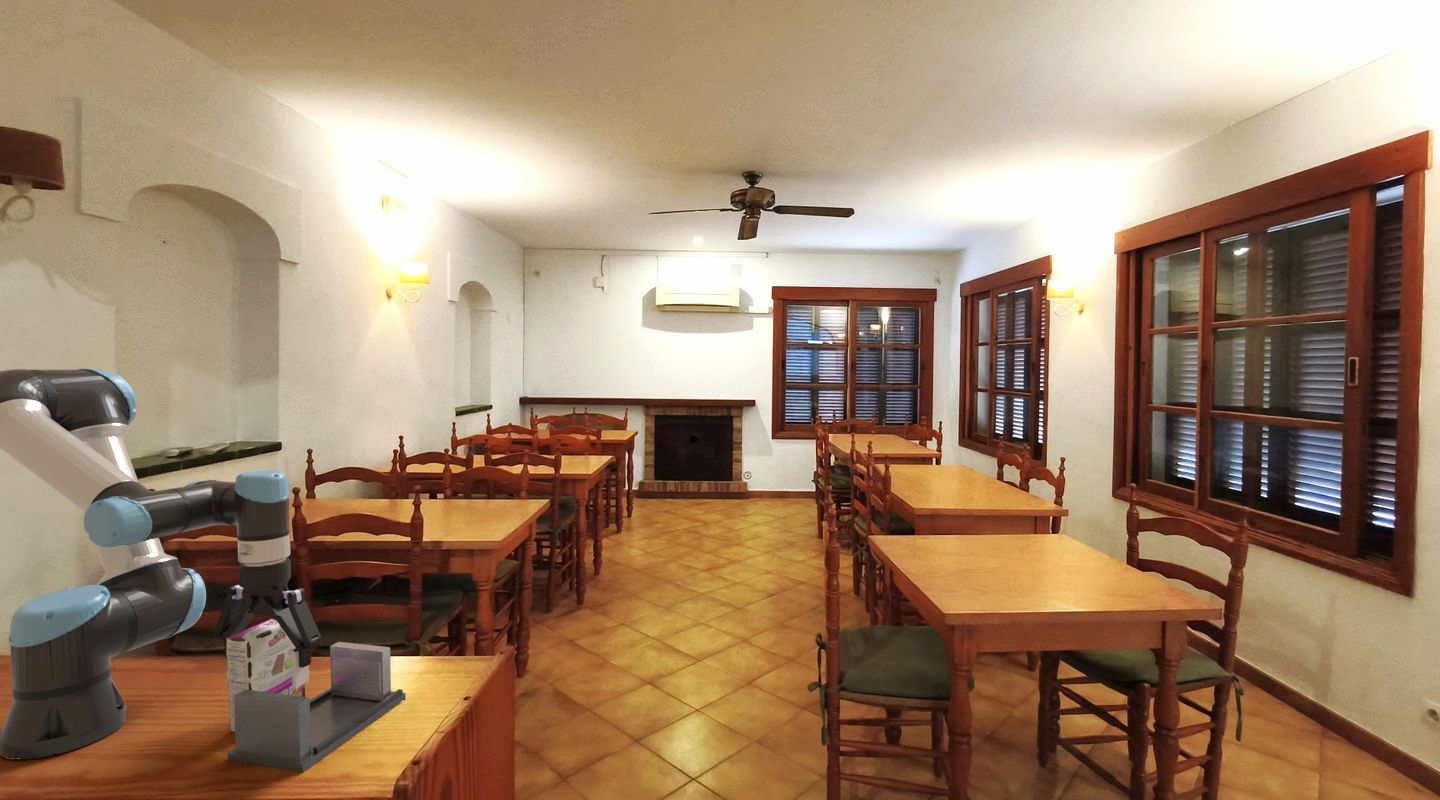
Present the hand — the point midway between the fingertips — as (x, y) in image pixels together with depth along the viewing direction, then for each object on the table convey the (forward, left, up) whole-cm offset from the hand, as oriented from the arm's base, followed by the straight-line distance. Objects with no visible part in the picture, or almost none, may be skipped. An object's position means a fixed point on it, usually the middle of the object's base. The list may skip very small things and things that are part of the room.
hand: (268, 680), depth 116 cm
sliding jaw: (+12, +11, -5) cm, 17 cm away
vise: (+12, 0, -7) cm, 14 cm away
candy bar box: (0, 0, -7) cm, 7 cm away
